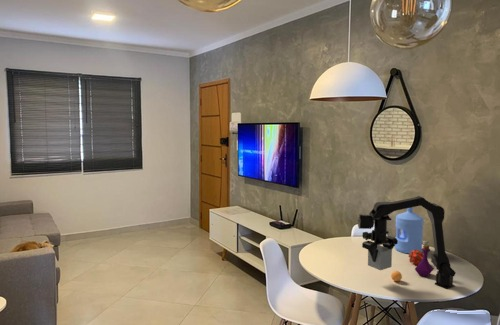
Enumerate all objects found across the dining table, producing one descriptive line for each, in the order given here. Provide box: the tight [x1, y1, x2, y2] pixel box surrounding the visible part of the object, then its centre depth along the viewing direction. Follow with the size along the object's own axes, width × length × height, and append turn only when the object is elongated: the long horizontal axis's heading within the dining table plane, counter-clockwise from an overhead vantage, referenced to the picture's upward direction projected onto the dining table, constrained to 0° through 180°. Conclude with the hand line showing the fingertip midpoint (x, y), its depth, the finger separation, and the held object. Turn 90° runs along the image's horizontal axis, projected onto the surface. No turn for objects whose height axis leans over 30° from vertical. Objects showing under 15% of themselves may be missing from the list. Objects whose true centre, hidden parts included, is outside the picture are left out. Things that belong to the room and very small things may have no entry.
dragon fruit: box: [408, 250, 424, 267], centre depth 209 cm, size 8×8×12 cm
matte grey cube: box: [367, 245, 393, 271], centre depth 183 cm, size 8×8×9 cm
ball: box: [390, 270, 403, 282], centre depth 187 cm, size 5×5×5 cm
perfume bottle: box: [414, 240, 435, 277], centre depth 194 cm, size 8×8×18 cm
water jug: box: [394, 207, 424, 255], centre depth 231 cm, size 16×16×28 cm
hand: (379, 260), depth 183 cm, fingers closed on matte grey cube, 8 cm apart
